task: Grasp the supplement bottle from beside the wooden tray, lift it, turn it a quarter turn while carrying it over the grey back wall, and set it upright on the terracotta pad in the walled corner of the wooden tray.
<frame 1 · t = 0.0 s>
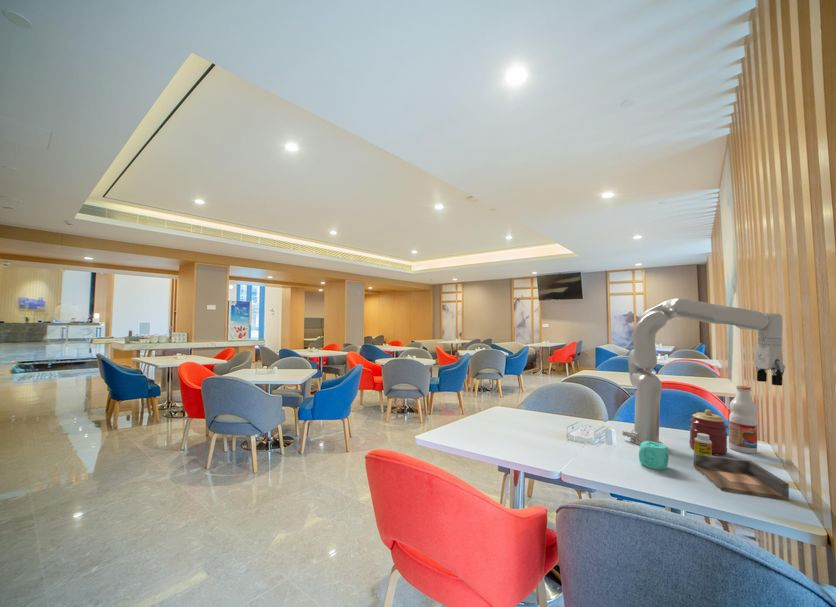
hand: (769, 383, 154), 31 cm above the table, tool pointing down, fingers open, 9 cm apart
canister: (707, 450, 160), on the table
fruit juice: (742, 450, 162), on the table
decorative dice: (653, 466, 139), on the table
supplement bottle: (702, 460, 148), on the table
wooden tray: (736, 481, 128), on the table
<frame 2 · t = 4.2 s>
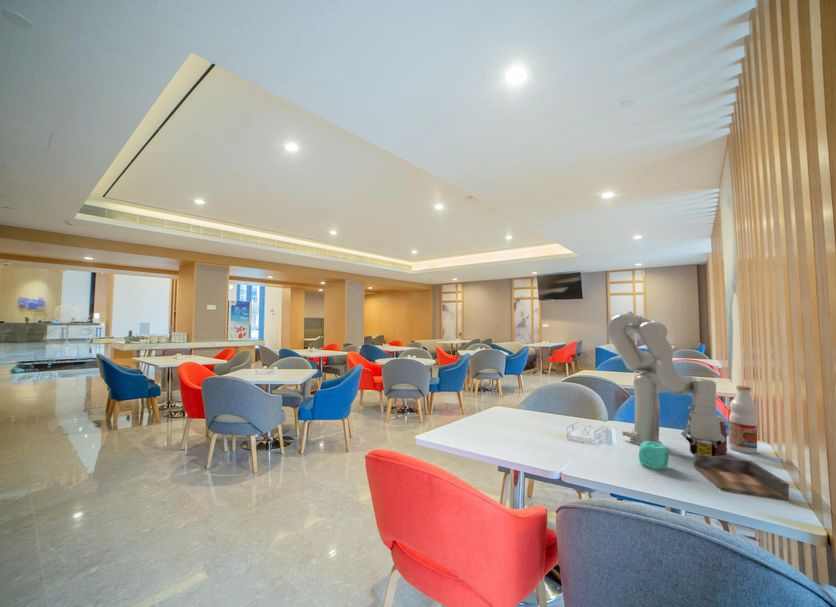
hand: (702, 454, 148), 2 cm above the table, tool pointing down, fingers closed on supplement bottle, 5 cm apart
supplement bottle: (702, 460, 148), on the table, touching gripper
everything else where it was.
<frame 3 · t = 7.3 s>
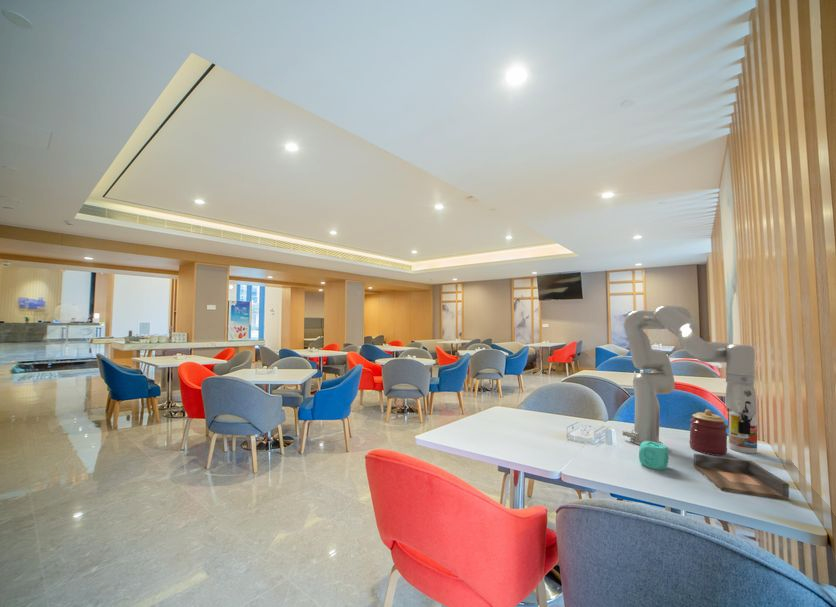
hand: (738, 430, 129), 17 cm above the table, tool pointing down, fingers closed on supplement bottle, 5 cm apart
supplement bottle: (738, 436, 129), point 15 cm above the table, touching gripper
everything else where it was.
when the fingers open (4 cm above the table, at t = 10.2 s): supplement bottle drops 1 cm, resting on wooden tray.
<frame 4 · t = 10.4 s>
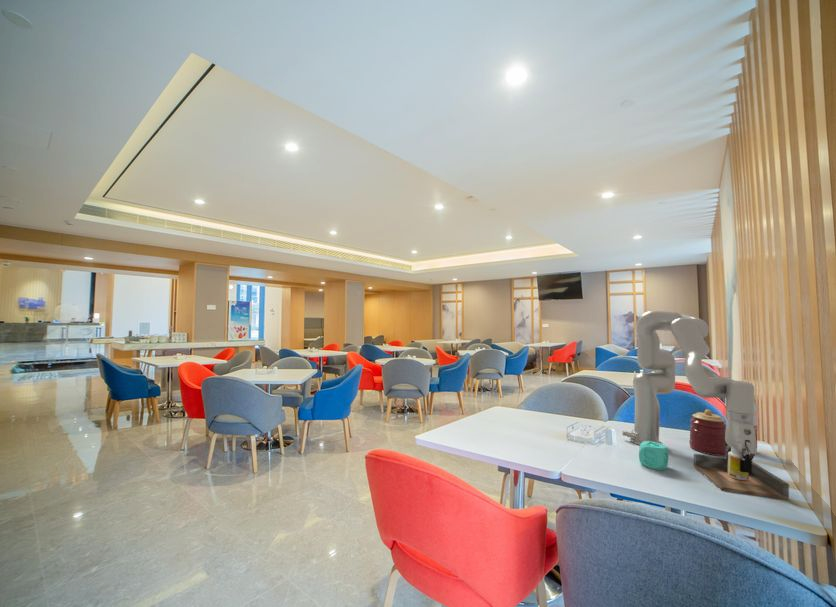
hand: (738, 467, 129), 5 cm above the table, tool pointing down, fingers open, 7 cm apart
supplement bottle: (737, 478, 129), point 1 cm above the table, touching wooden tray
everything else where it was.
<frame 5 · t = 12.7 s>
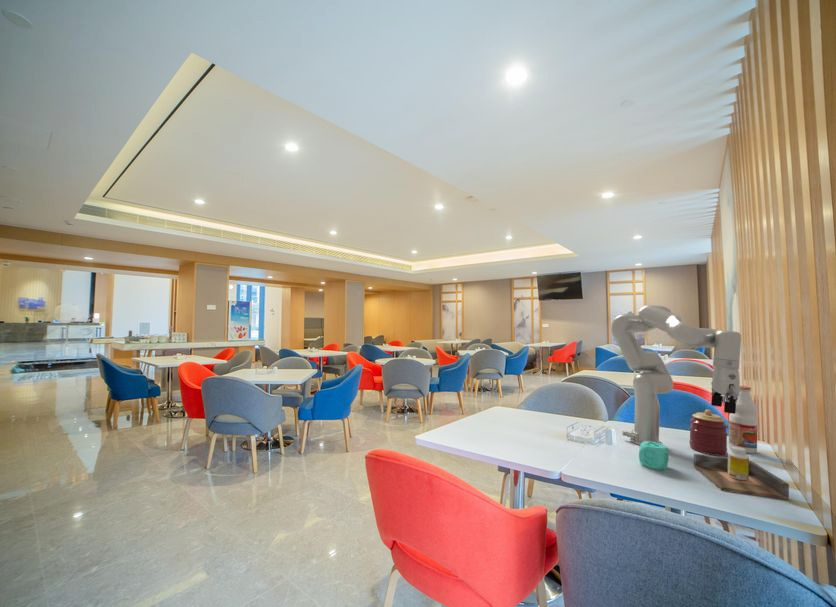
hand: (722, 409, 137), 23 cm above the table, tool pointing down, fingers open, 9 cm apart
nothing on the table moved.
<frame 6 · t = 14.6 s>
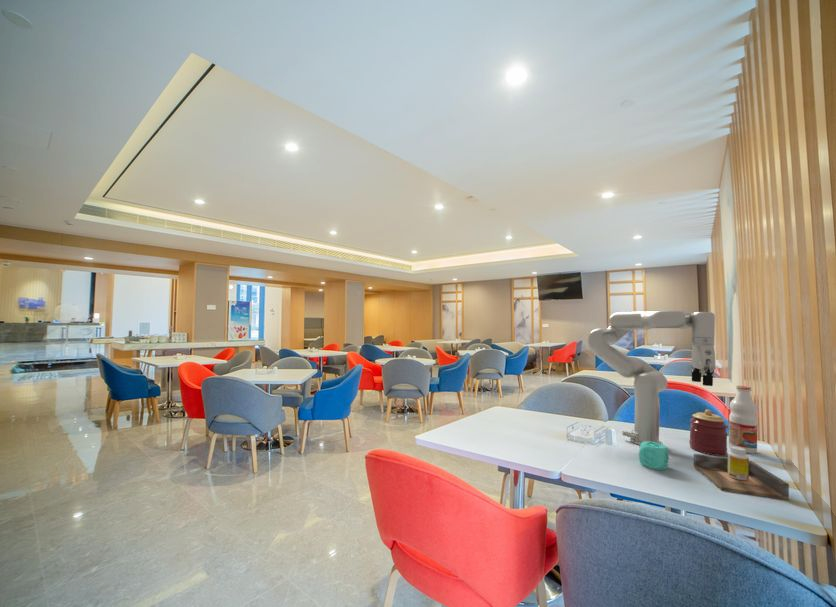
hand: (701, 383, 151), 30 cm above the table, tool pointing down, fingers open, 9 cm apart
nothing on the table moved.
at the end: supplement bottle 0.3 cm from the target spot on the wooden tray, point 0.9 cm above the wooden tray's base; supplement bottle tilted 0°; the gripper is holding nothing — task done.
